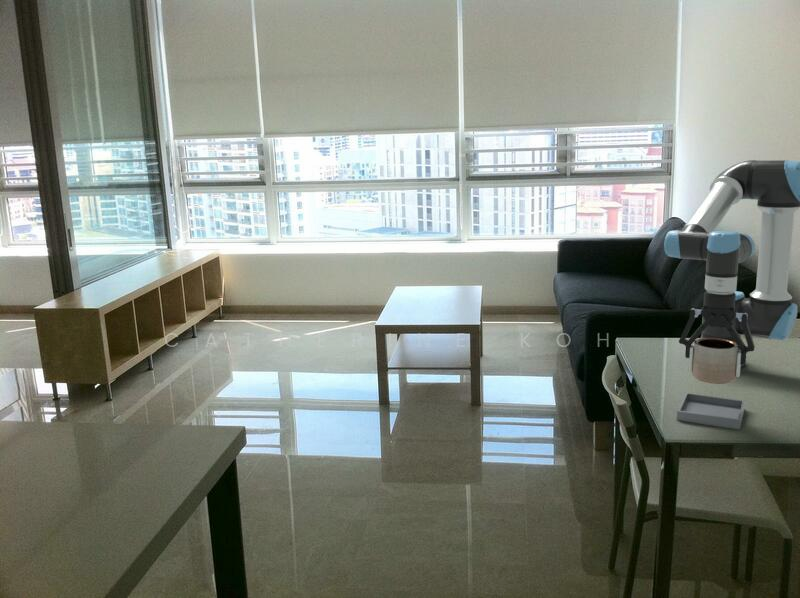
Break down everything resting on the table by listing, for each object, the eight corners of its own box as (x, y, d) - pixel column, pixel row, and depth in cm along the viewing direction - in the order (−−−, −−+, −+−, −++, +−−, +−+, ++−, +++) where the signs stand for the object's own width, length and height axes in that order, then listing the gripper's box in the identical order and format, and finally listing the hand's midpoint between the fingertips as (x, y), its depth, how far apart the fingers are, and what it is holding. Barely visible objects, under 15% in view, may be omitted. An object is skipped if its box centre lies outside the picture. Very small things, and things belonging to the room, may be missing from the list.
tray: (685, 400, 209) (685, 392, 208) (744, 409, 202) (745, 400, 201) (676, 419, 196) (677, 411, 195) (739, 429, 189) (740, 420, 188)
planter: (740, 385, 190) (743, 349, 188) (696, 384, 192) (698, 348, 190) (730, 372, 200) (732, 338, 198) (687, 370, 202) (690, 337, 200)
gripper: (670, 290, 193) (665, 370, 198) (769, 298, 182) (761, 383, 187) (674, 285, 200) (670, 363, 205) (771, 292, 189) (763, 374, 194)
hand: (713, 372), depth 196 cm, fingers closed on planter, 11 cm apart
